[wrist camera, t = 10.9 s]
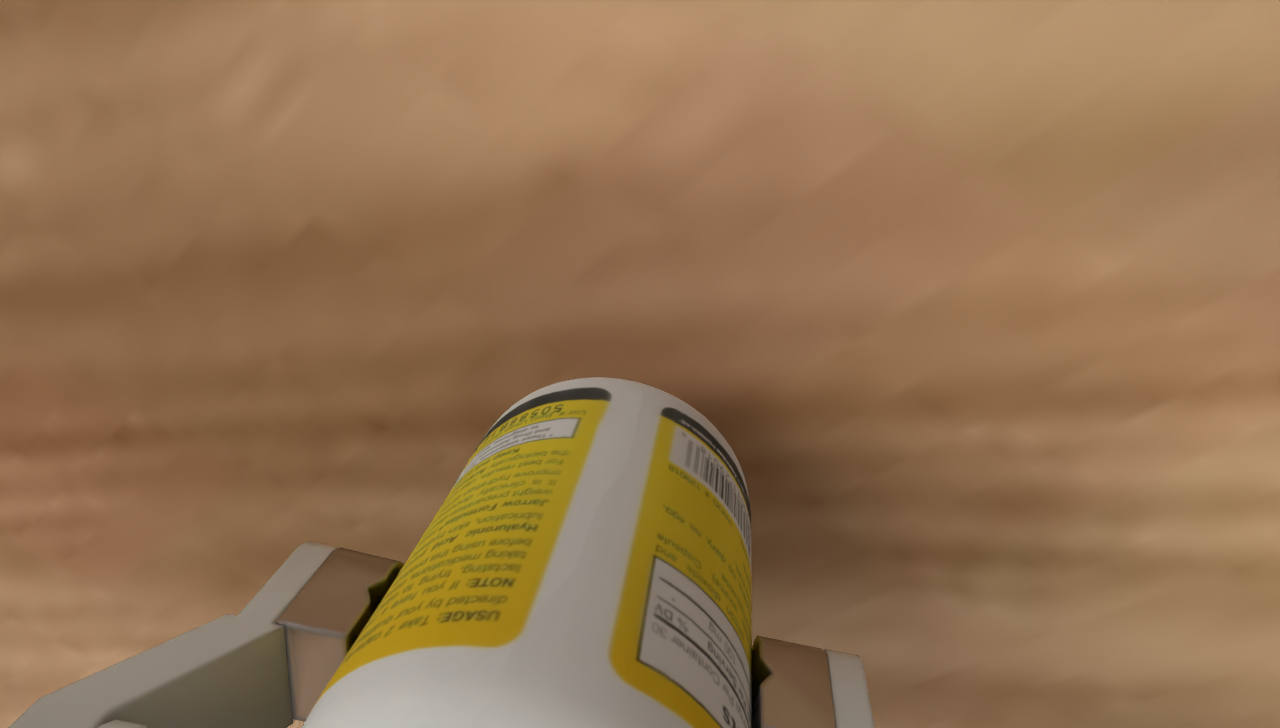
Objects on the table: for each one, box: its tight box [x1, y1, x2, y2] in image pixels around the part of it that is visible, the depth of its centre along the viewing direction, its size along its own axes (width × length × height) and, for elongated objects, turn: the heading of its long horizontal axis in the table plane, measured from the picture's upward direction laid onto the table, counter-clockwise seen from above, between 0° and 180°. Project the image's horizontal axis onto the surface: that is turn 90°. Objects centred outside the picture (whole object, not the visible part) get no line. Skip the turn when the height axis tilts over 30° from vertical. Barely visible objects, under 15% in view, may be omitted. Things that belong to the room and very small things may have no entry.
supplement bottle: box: [302, 377, 752, 728], centre depth 10 cm, size 5×5×10 cm
